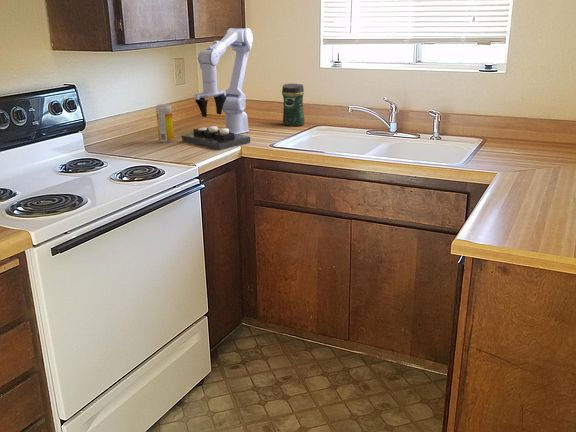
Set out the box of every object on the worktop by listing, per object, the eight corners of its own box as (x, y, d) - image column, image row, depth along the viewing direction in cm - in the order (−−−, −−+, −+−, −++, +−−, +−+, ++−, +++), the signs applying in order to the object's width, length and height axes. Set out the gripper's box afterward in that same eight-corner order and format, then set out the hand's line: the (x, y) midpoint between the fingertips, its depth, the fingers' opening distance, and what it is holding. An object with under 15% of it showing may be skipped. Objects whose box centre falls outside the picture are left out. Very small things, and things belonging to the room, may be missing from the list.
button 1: (203, 131, 242) (203, 127, 242) (208, 133, 240) (208, 128, 239) (196, 133, 240) (196, 128, 239) (201, 134, 237) (201, 129, 237)
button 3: (225, 132, 233) (224, 128, 232) (230, 134, 230) (230, 129, 230) (218, 134, 230) (217, 129, 229) (223, 135, 228) (223, 130, 227)
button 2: (213, 130, 237) (213, 125, 236) (219, 131, 235) (219, 126, 234) (206, 132, 235) (206, 127, 234) (212, 133, 232) (212, 128, 232)
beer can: (176, 139, 243) (172, 103, 237) (171, 143, 237) (168, 106, 232) (161, 139, 243) (158, 103, 238) (157, 143, 238) (153, 106, 232)
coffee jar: (306, 123, 269) (306, 83, 263) (299, 127, 262) (298, 85, 256) (288, 122, 273) (287, 82, 267) (280, 125, 267) (279, 84, 260)
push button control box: (208, 134, 252) (208, 123, 250) (250, 142, 234) (249, 131, 233) (178, 140, 241) (177, 129, 240) (219, 150, 224) (218, 138, 222)
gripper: (217, 78, 239) (219, 112, 244) (188, 82, 230) (191, 116, 234) (228, 80, 235) (230, 113, 239) (200, 83, 225) (202, 118, 230)
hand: (211, 115), depth 236 cm, fingers open, 7 cm apart
